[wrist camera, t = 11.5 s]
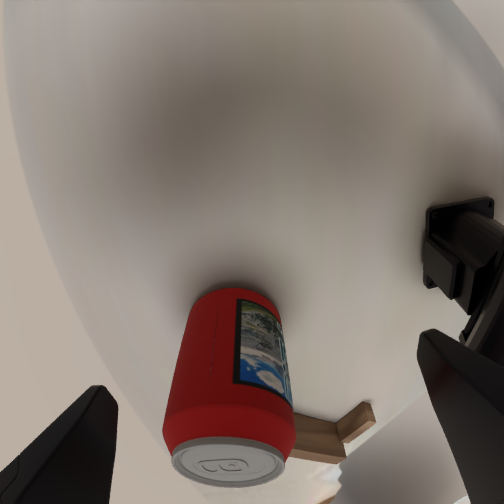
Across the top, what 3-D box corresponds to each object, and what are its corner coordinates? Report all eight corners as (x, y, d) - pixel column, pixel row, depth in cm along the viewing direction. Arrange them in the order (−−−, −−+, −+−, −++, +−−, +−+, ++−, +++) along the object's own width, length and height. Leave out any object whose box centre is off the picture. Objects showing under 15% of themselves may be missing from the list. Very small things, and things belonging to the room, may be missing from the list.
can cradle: (270, 370, 25) (273, 412, 21) (370, 404, 28) (381, 438, 24) (236, 404, 28) (235, 443, 23) (334, 432, 30) (341, 464, 26)
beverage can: (287, 344, 24) (307, 484, 13) (205, 358, 25) (188, 493, 14) (270, 271, 21) (289, 426, 10) (176, 291, 22) (130, 437, 11)
